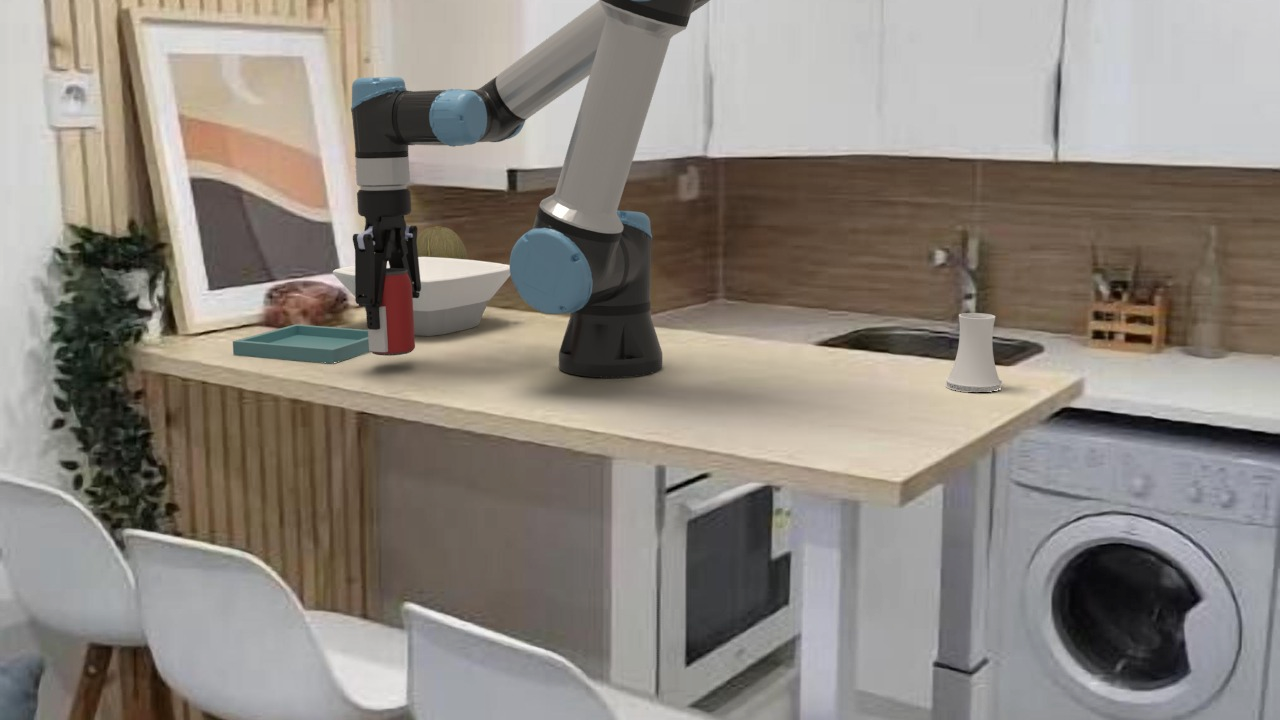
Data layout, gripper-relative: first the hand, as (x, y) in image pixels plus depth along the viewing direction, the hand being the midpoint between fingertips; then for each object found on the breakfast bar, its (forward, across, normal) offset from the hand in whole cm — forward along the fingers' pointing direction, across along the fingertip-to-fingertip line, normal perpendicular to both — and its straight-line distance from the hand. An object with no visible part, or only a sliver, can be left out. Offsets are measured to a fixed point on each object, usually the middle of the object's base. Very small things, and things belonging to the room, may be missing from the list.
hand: (392, 346), depth 201 cm
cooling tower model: (+5, -19, +80) cm, 83 cm away
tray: (+3, -7, -19) cm, 20 cm away
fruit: (+3, -51, -22) cm, 55 cm away
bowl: (+3, -31, -13) cm, 34 cm away
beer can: (+1, 0, 0) cm, 1 cm away
